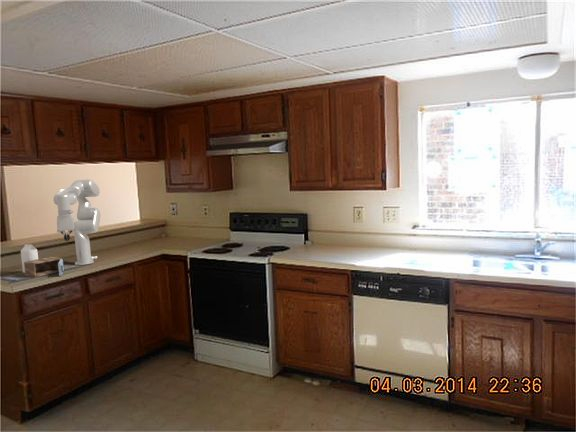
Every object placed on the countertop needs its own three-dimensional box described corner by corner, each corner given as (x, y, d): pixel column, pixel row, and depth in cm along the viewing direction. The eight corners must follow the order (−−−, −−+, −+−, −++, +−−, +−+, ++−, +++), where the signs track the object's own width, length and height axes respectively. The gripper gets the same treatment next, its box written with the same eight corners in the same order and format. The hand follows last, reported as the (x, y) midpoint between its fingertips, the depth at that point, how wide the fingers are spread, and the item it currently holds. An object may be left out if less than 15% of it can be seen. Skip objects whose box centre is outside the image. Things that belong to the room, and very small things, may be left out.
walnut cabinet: (52, 269, 307) (50, 256, 306) (62, 271, 300) (60, 258, 300) (25, 275, 292) (23, 262, 291) (35, 277, 285) (33, 263, 284)
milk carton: (30, 273, 298) (27, 245, 296) (22, 272, 301) (19, 245, 299) (39, 271, 305) (36, 243, 303) (32, 270, 307) (29, 243, 306)
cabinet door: (61, 270, 300) (60, 258, 299) (65, 270, 300) (64, 258, 300) (59, 275, 283) (58, 263, 282) (63, 275, 284) (61, 263, 283)
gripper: (77, 211, 299) (80, 238, 301) (52, 213, 294) (55, 241, 295) (76, 212, 293) (79, 240, 294) (51, 214, 287) (53, 242, 289)
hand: (67, 240), depth 295 cm, fingers closed
